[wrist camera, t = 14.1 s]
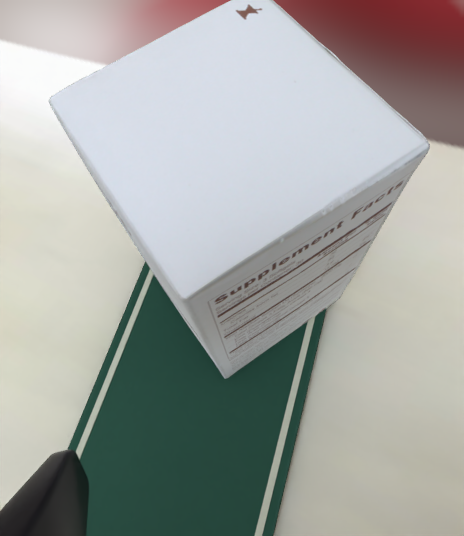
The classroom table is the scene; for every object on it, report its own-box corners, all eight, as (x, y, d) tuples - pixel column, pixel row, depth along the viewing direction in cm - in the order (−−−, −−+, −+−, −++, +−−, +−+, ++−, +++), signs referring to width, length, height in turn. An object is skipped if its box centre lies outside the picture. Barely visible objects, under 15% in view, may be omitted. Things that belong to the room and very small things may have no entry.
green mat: (257, 602, 18) (256, 605, 17) (42, 517, 19) (38, 518, 19) (352, 197, 25) (353, 192, 24) (189, 161, 26) (188, 156, 26)
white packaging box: (149, 269, 23) (36, 89, 11) (262, 200, 24) (263, -26, 13) (223, 385, 20) (174, 307, 9) (345, 302, 22) (443, 135, 10)
